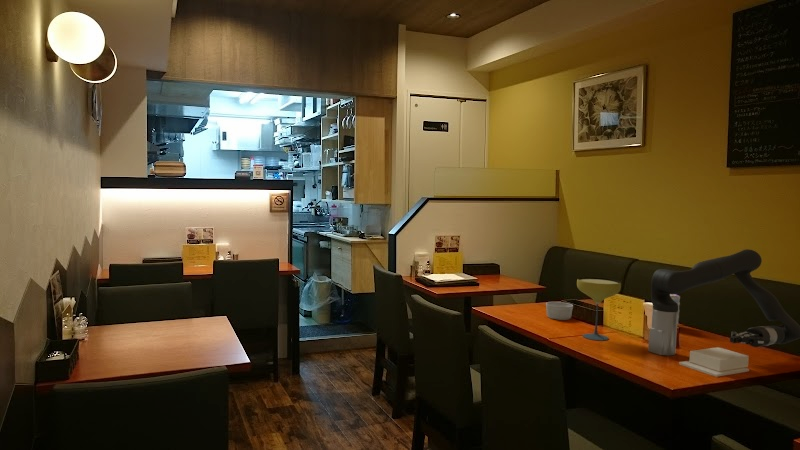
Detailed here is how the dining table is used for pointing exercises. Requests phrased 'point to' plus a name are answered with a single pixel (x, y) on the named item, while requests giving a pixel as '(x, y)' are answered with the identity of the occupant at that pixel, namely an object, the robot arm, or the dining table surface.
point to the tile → (719, 359)
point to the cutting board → (712, 372)
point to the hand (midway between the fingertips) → (732, 340)
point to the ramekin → (559, 310)
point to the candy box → (677, 300)
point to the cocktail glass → (598, 296)
